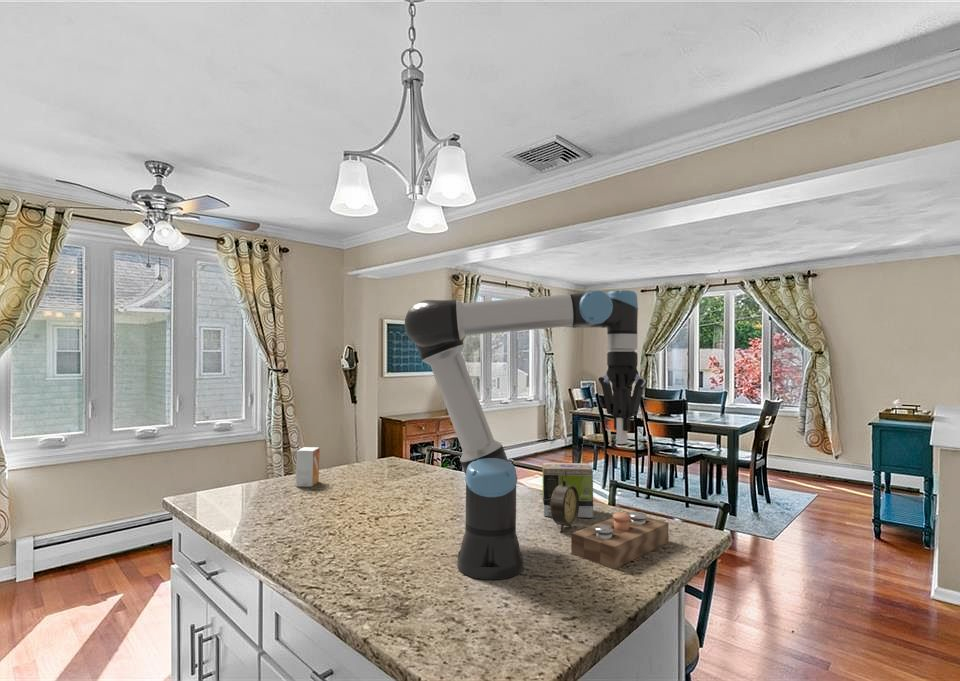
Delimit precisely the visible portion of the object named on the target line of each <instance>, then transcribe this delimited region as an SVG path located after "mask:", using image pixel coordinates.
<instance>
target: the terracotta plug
mask: <svg viewBox="0 0 960 681" xmlns="http://www.w3.org/2000/svg"><path fill="white" fill-rule="evenodd" d="M625 513H626V512H615V513H612V518H613V519H614V529H615V530H619V531H622V532H627V531H629V521H630V520H631V516H630V515H629V514H625Z"/></svg>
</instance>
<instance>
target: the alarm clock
mask: <svg viewBox="0 0 960 681" xmlns="http://www.w3.org/2000/svg"><path fill="white" fill-rule="evenodd" d="M564 471H565V470H564ZM564 471H563V473H564ZM563 473H562V482H563V485H558V486H557V487H556V488H555V489H554V491H553V494H552V497H551V504H550V508H551V515H552V516H551V519H552V520H553V522H554V523H555V524H556V526H560V532H559V533H560V534H562V533H563V530H564V527H565V526H566V527H572V526H574V524H576V522H577V519H578V517H577V516H578V512H579V497H578V492H577V490H576V488H575V487H574V486H569V485H566V483H565V482H566V481H565V480H566V476H565V480H563ZM565 474H566V471H565Z"/></svg>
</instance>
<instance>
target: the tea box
mask: <svg viewBox="0 0 960 681" xmlns="http://www.w3.org/2000/svg"><path fill="white" fill-rule="evenodd" d="M564 470H565V471H566V474H565V471H564ZM563 471H564V473H563ZM562 473H563V480H565V476H566V480H565V481H566V482H565V483H566V485H569V486H574V487H575V488H576V490H577V492H578V497H579V512H578V516H577V518H588V519H589V518H590V519H591V518H592V519H594V471H593V468H592V466H591V465H590V463H587V462H583V463H581V462H580V463H578V462H542V508H543V509H542V510H543V517H552V515H551V508H550V504H551V497H552V494H553V491H554V489H555V488H556V487H557V486H558V485H563V482H562Z"/></svg>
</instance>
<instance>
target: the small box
mask: <svg viewBox="0 0 960 681" xmlns="http://www.w3.org/2000/svg"><path fill="white" fill-rule="evenodd" d="M320 449H321V448H320V447H318V446H316V447H315V446H314V447H313V446H312V447H311V446H309V447H308V446H304V447H302V448H300V449H298V450H296V463H295V464H296V465H295V487H297V488H298V487H304V488H305V487H309V488H310V487H314V485H316V484H318V482H319V480H320V479H319V477H320V476H319V475H320Z"/></svg>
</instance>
